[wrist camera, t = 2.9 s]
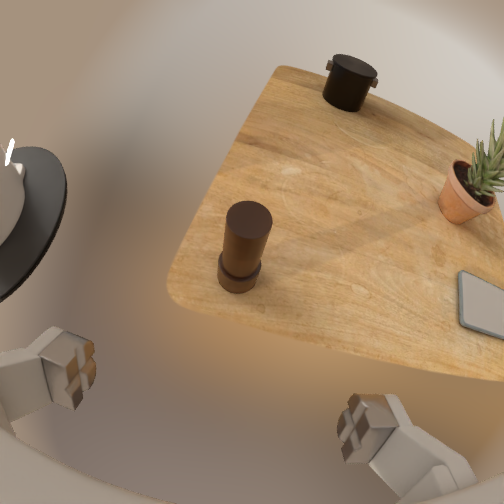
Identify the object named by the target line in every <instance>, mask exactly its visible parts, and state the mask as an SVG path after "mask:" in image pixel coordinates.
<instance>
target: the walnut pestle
mask: <svg viewBox="0 0 504 504" xmlns="http://www.w3.org/2000/svg"><path fill="white" fill-rule="evenodd" d="M272 223H273V221H272V216H271V214H270V212H269V211H268V209H267V208H266V207H264V206H263V205H261V204H260V203H257V202H254V201H241V202H238V203H236V204H234V205H233V206H232V207H231V208H230V209H229V210H228V212H227V216H226V224H225V233H224V243H223V251H222V252H221V254H220V256H219V260H218V274H217V276H218V280H219V283H220V284H221V286H222V287H223V288H224V289H226V290H227V291H229V292H232V293H244V292H247V291H249V290H250V289H251V288H252V287H253V286H254V285H255V283H256V280H257V277H258V275H259V272H260V269H261V257H262V254H263V251H264V248H265V245H266V242H267V239H268V236H269V233H270V230H271V228H272Z"/></svg>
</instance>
